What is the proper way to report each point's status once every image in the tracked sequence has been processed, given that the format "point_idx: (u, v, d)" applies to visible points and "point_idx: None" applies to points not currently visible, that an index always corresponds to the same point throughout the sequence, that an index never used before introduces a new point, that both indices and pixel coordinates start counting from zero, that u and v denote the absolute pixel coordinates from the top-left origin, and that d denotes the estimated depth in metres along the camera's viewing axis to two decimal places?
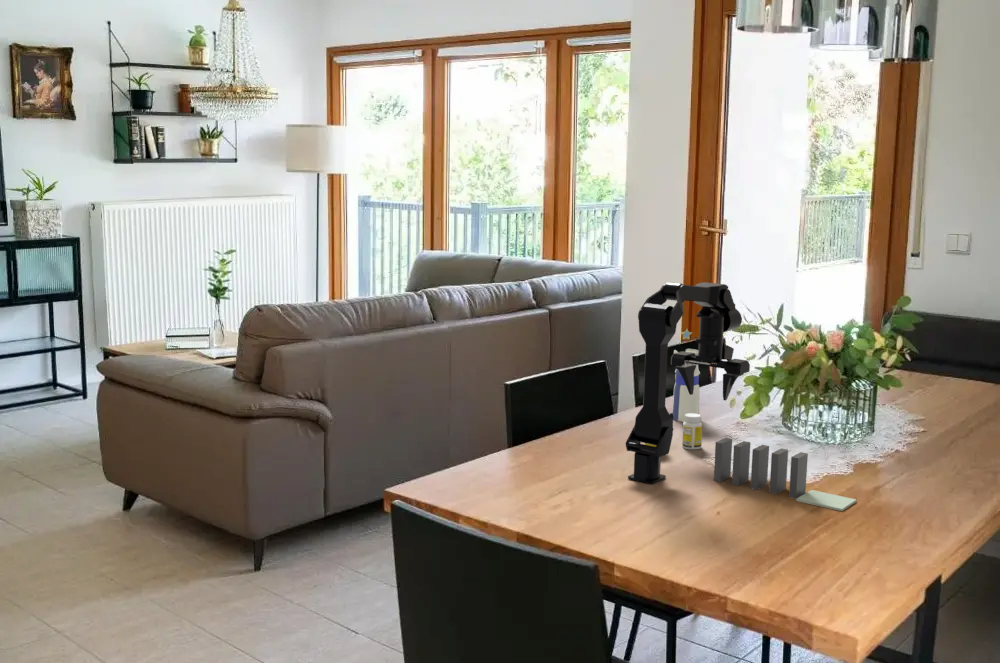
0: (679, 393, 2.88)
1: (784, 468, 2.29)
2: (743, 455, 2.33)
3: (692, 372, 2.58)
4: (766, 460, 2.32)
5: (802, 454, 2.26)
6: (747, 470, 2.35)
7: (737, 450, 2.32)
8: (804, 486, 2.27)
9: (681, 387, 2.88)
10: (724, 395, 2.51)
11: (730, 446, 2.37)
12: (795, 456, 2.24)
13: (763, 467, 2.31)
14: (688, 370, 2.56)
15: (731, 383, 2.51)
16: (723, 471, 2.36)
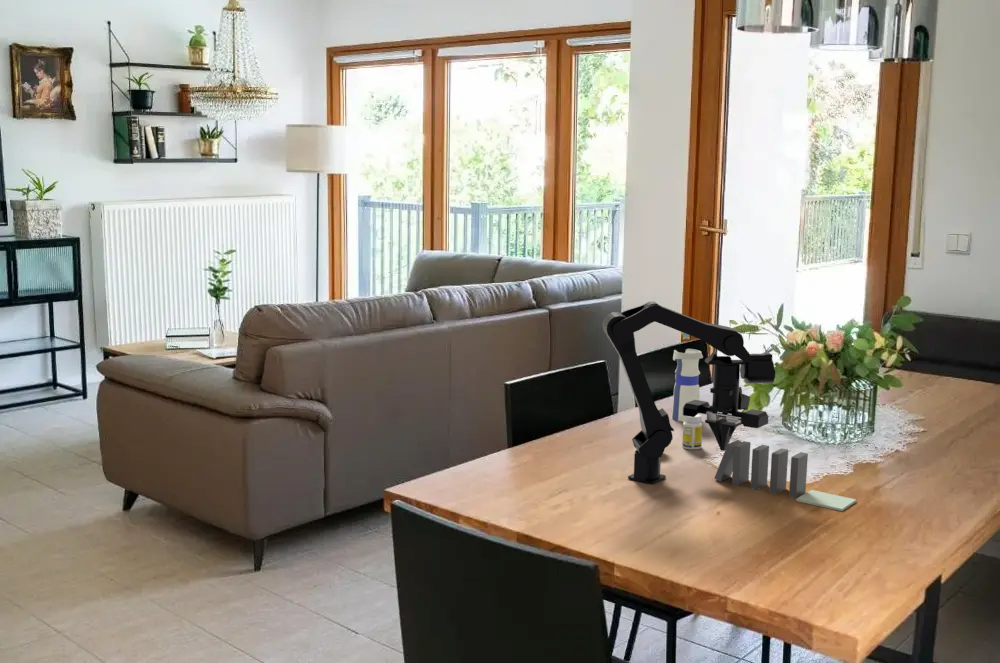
0: (679, 393, 2.88)
1: (784, 468, 2.29)
2: (743, 455, 2.33)
3: None
4: (766, 460, 2.32)
5: (802, 454, 2.26)
6: (747, 470, 2.35)
7: (737, 450, 2.32)
8: (804, 486, 2.27)
9: (681, 387, 2.88)
10: (723, 445, 2.36)
11: None
12: (795, 456, 2.24)
13: (763, 467, 2.31)
14: (719, 424, 2.35)
15: (730, 432, 2.36)
16: (725, 472, 2.36)
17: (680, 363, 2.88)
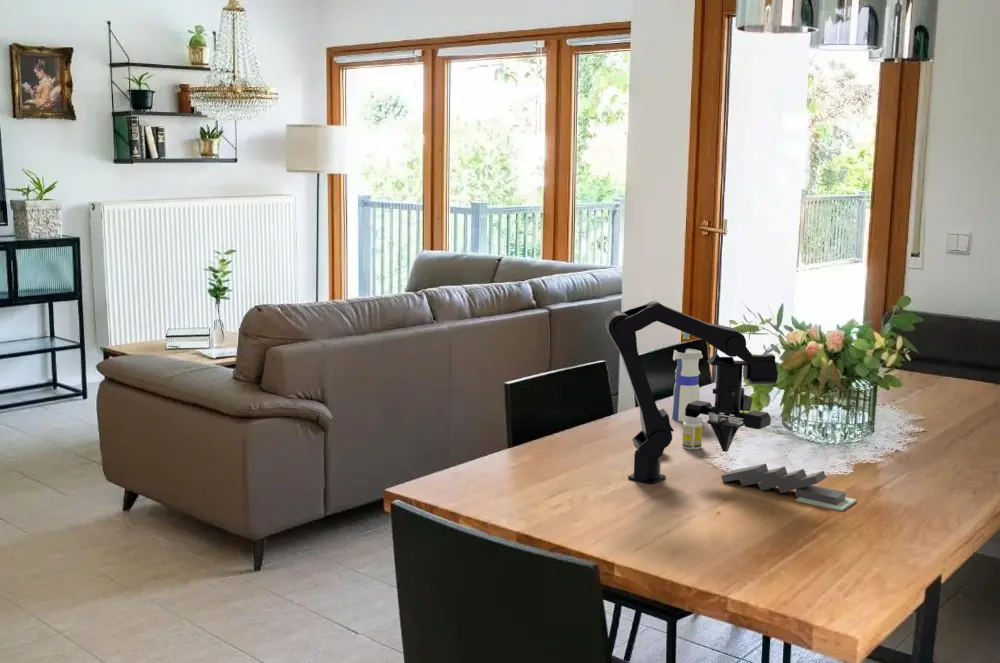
0: (679, 393, 2.88)
1: None
2: None
3: None
4: None
5: (842, 498, 2.21)
6: None
7: (772, 476, 2.27)
8: None
9: (681, 387, 2.88)
10: (725, 446, 2.35)
11: None
12: (838, 499, 2.19)
13: None
14: (721, 425, 2.35)
15: (732, 433, 2.35)
16: None
17: (680, 363, 2.88)
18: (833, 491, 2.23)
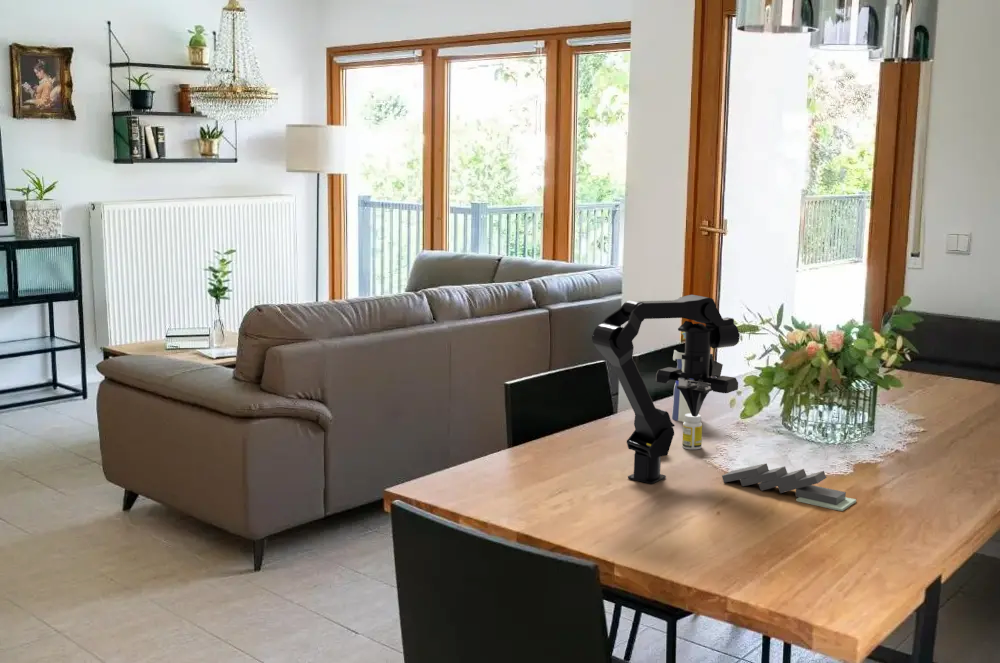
0: (679, 393, 2.88)
1: None
2: None
3: None
4: None
5: (842, 498, 2.21)
6: None
7: (773, 476, 2.27)
8: None
9: None
10: (694, 411, 2.40)
11: None
12: (838, 499, 2.19)
13: None
14: (690, 390, 2.40)
15: (701, 398, 2.40)
16: None
17: (680, 362, 2.88)
18: (833, 491, 2.23)
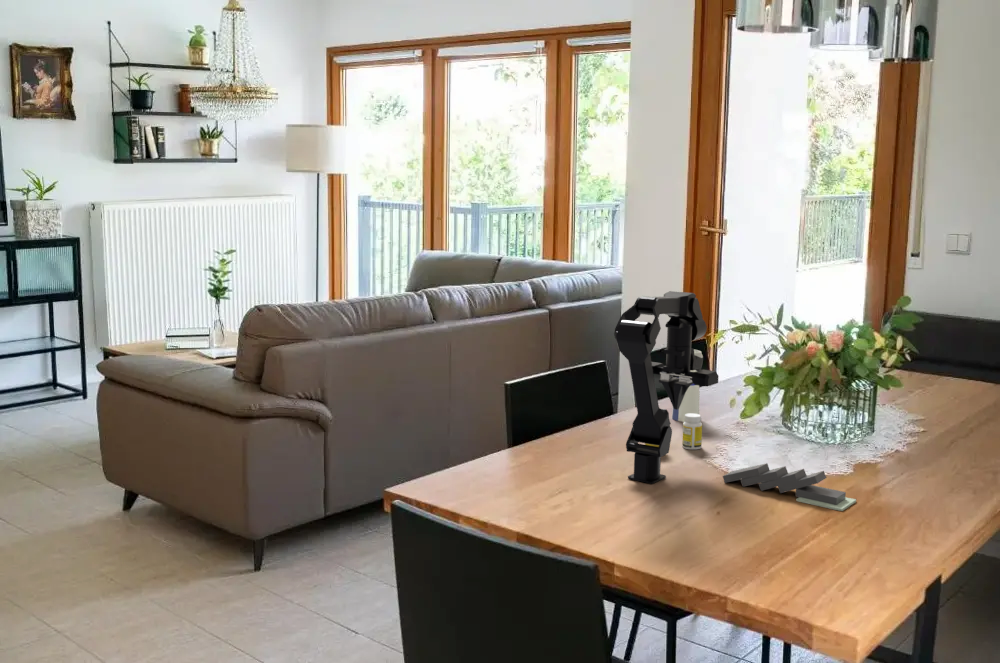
0: None
1: None
2: None
3: None
4: None
5: (842, 498, 2.21)
6: None
7: (773, 476, 2.27)
8: None
9: None
10: (676, 404, 2.47)
11: None
12: (838, 499, 2.19)
13: None
14: (672, 384, 2.47)
15: (683, 392, 2.47)
16: None
17: None
18: (833, 491, 2.23)
